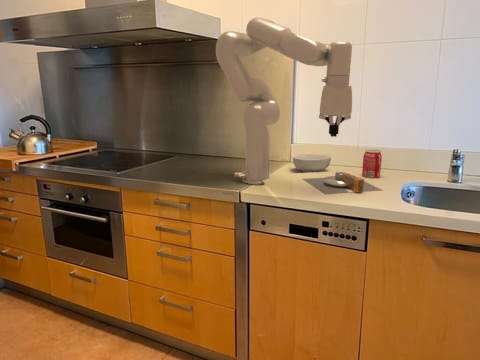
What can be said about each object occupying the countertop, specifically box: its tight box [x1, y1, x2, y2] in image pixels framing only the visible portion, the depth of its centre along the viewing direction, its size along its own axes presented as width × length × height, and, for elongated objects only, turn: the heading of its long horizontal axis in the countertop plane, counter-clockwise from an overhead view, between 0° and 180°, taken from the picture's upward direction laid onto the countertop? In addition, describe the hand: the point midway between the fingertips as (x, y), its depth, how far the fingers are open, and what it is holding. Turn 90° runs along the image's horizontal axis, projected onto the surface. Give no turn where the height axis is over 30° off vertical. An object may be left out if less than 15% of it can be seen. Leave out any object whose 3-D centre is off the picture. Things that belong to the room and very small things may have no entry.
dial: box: [323, 171, 365, 193], centre depth 131 cm, size 18×12×4 cm, turn 17°
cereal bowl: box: [292, 152, 332, 174], centre depth 162 cm, size 17×17×7 cm
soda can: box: [361, 149, 383, 179], centre depth 145 cm, size 7×7×12 cm
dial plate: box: [302, 177, 384, 195], centre depth 135 cm, size 22×22×2 cm
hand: (333, 136), depth 124 cm, fingers closed
